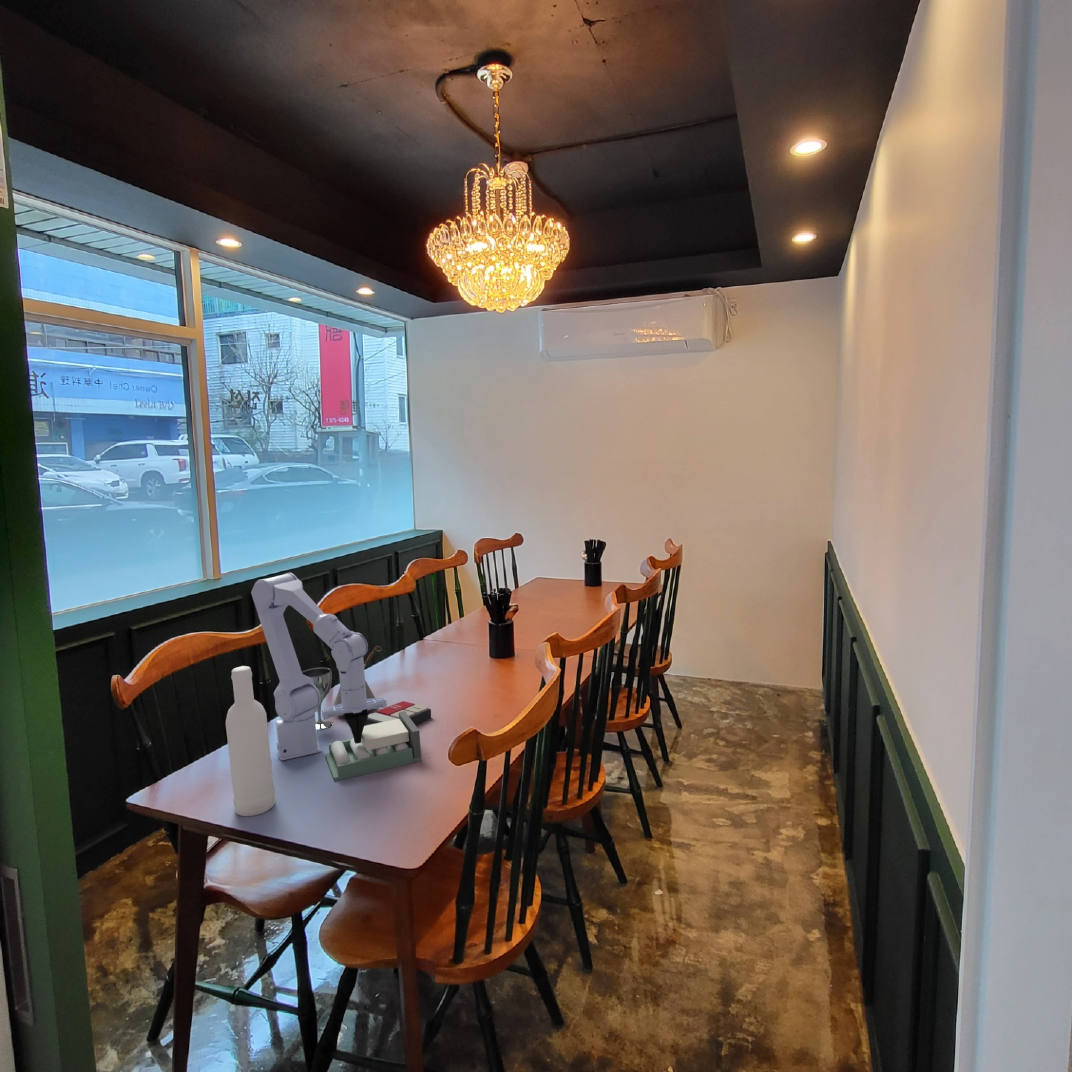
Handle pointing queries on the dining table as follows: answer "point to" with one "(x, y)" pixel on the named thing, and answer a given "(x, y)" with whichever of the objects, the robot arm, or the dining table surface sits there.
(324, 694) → the wine glass
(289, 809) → the dining table surface
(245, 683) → the bottle
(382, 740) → the board
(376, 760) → the roller frame
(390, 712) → the calculator
